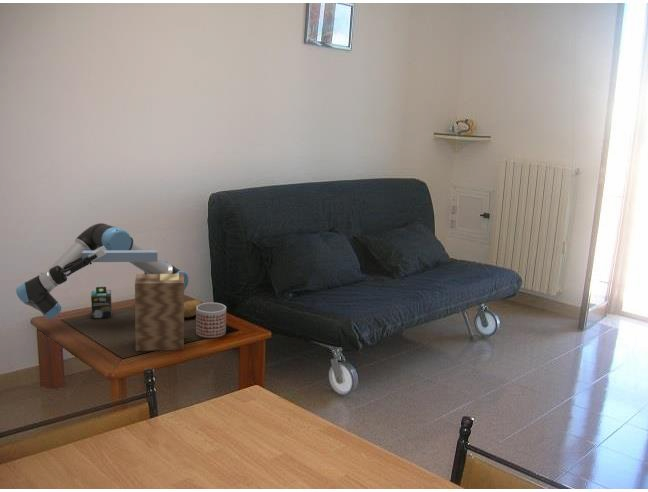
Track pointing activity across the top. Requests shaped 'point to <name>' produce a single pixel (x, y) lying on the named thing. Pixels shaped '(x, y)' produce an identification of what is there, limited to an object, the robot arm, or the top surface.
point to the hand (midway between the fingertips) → (104, 250)
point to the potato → (190, 308)
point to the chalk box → (101, 303)
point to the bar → (124, 256)
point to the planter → (211, 320)
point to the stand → (159, 312)
